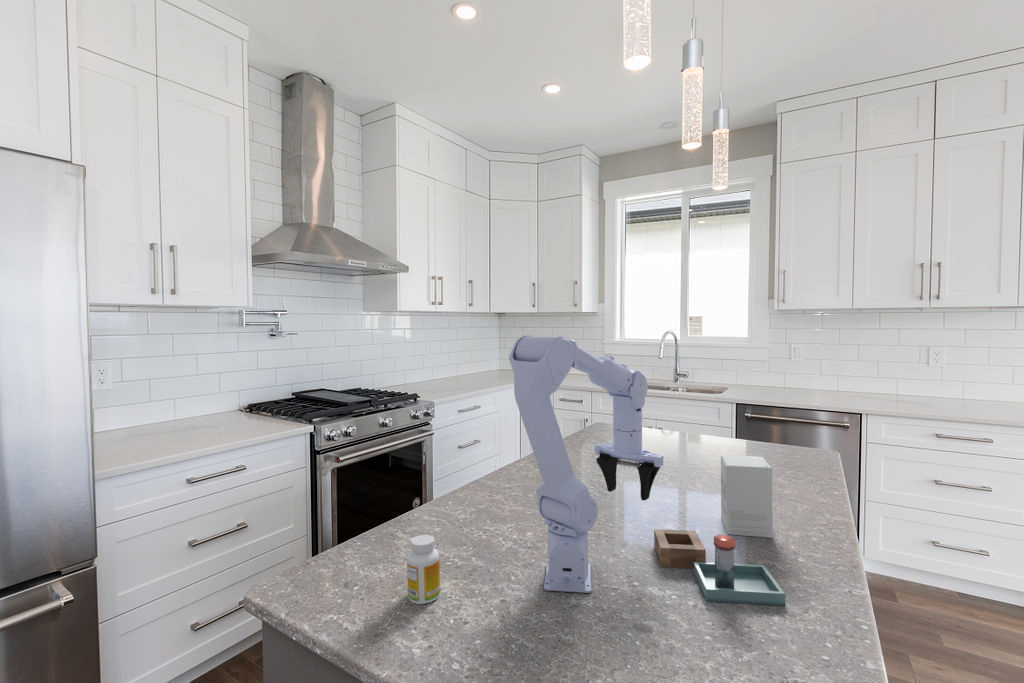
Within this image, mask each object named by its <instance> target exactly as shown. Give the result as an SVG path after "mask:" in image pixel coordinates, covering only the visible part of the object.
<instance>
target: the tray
mask: <svg viewBox="0 0 1024 683" xmlns="http://www.w3.org/2000/svg"><path fill="white" fill-rule="evenodd" d="M692 569H693V574H694V577H695V579H696V581H697V584H698V586H699V588H700V590H701V592H702V594H703V597H704V599H705V601H706V602H710V603H711V602H713V603H727V604H728V603H729V604H746V605H747V604H749V605H762V606H778V607H779V606H780V607H786V593H785V592H784V590H783V588H781V586H780V584H778V582H777V581H776V580H775V578H774V577H773V576H772V574H771V573H770V571H769V570H768V569H767V567H766V565H764V564H747V563H746V564H744V563H734V589H727V588H718V587H717V586H716V585H715V562H707V561H706V562H693V568H692Z"/></svg>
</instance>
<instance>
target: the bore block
mask: <svg viewBox="0 0 1024 683" xmlns="http://www.w3.org/2000/svg"><path fill="white" fill-rule="evenodd" d="M653 541H654V542H653V547H655V548H654V550H656V551H655V553H657V554H656V556H658V557H657V559H659V560H658V562H659V566H660V567H661V568H676V569H677V568H678V569H679V568H680V569H693V562H707V561H706V559H707V558H706V557H707V556H706V555H707V553H706V552H707V551H706V547H705V546H704V544H703V543H702V540H701V538H700V537H699V535H698V533H697V532H696V530H684V529H683V530H682V529H681V530H680V529H659V528H657V529H656V528H654V529H653Z"/></svg>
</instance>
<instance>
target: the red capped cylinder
mask: <svg viewBox="0 0 1024 683" xmlns="http://www.w3.org/2000/svg"><path fill="white" fill-rule="evenodd" d="M713 546H714V563H715V585H716V586H717V587H718V588H727V589H734V564H735V549H736V539H735V538H734V537H733V536H729V535H725V534H716V535H714V536H713Z"/></svg>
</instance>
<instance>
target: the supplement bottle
mask: <svg viewBox="0 0 1024 683" xmlns="http://www.w3.org/2000/svg"><path fill="white" fill-rule="evenodd" d="M435 541H436V539H435V537H434V536H432V535H430V534H420V535H417V536H414V537H412V538H411V540H410V550H411V551H409V552H408V554H407V557H406V570H407V571H406V572H407V573H406V574H407V576H406V577H407V597H408V600H409V601H410V602H411V603H413V604H415V603H416V604H415V605H427V604H430V603H432V601H433V602H435V601H436V600H437V599H439V597H440V594H441V571H440V569H441V568H440V553H439V551H438V550H437V549H436V542H435ZM434 600H435V601H434ZM429 602H430V603H429ZM426 603H427V604H426Z"/></svg>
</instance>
